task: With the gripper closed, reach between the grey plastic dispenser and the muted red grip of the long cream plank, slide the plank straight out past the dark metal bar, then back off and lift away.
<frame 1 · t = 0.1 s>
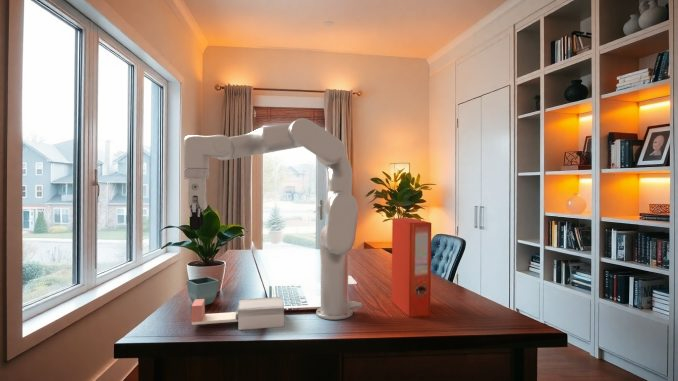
hand: (196, 227, 126), 31 cm above the table, tool pointing down, fingers open, 9 cm apart
long cream plank: (235, 308, 127), point 5 cm above the table, slide at 0.0 cm
file binder: (410, 309, 142), on the table
flower pot: (202, 304, 148), on the table
dispenser: (261, 321, 129), on the table
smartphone: (346, 281, 184), on the table
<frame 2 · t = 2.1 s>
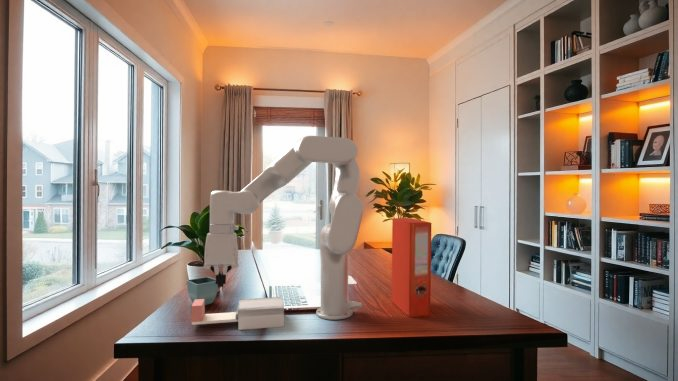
hand: (220, 286, 126), 12 cm above the table, tool pointing down, fingers closed
nothing on the table moved.
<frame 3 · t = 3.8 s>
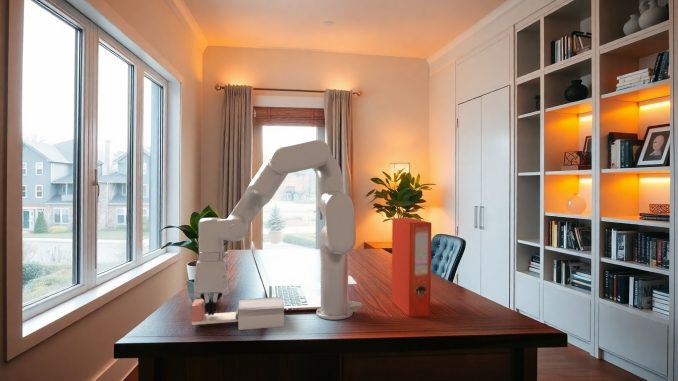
hand: (211, 313, 126), 4 cm above the table, tool pointing down, fingers closed
long cream plank: (235, 308, 127), point 5 cm above the table, slide at 0.0 cm, touching gripper
everything else where it was.
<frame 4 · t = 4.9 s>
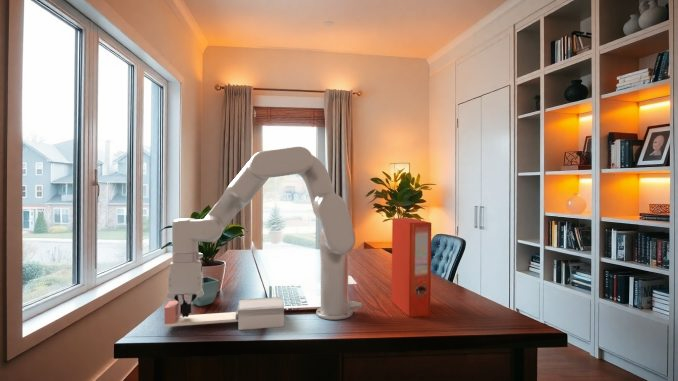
hand: (185, 315, 124), 4 cm above the table, tool pointing down, fingers closed
long cream plank: (210, 310, 126), point 5 cm above the table, slide at 7.8 cm, touching gripper
everything else where it was.
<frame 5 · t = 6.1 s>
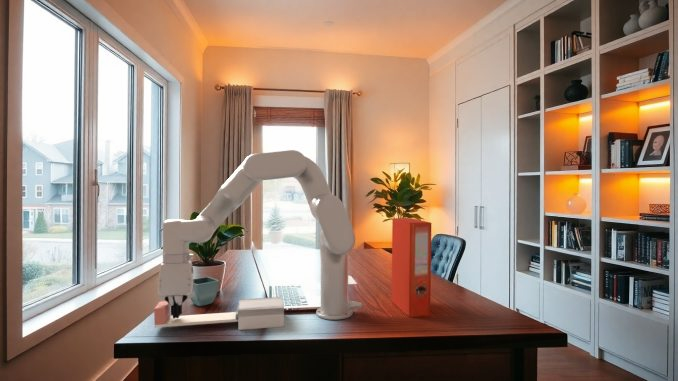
hand: (176, 316, 124), 4 cm above the table, tool pointing down, fingers closed
long cream plank: (201, 311, 125), point 5 cm above the table, slide at 10.6 cm, touching gripper
everything else where it was.
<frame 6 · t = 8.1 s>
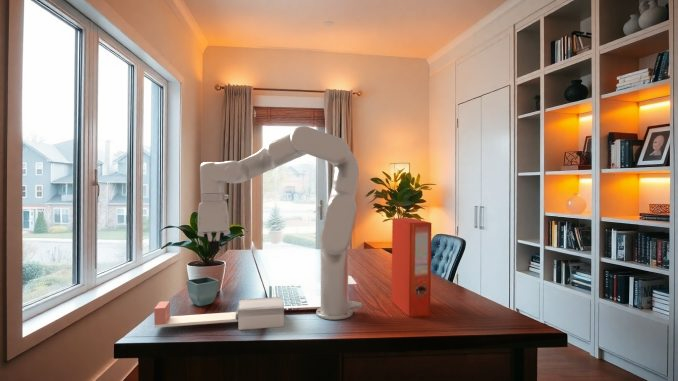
hand: (214, 252, 134), 22 cm above the table, tool pointing down, fingers closed
long cream plank: (201, 311, 125), point 5 cm above the table, slide at 10.6 cm
everything else where it was.
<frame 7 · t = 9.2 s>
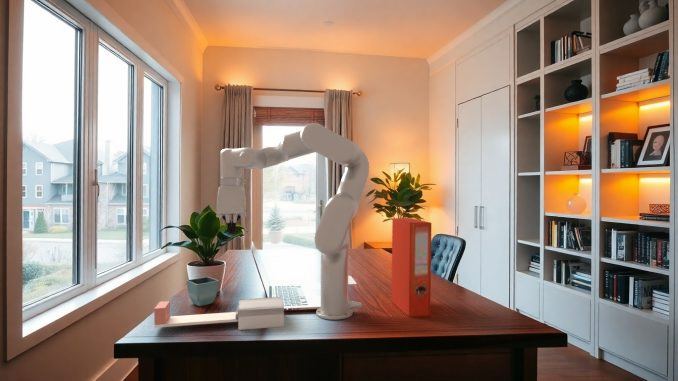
hand: (231, 233, 143), 27 cm above the table, tool pointing down, fingers closed
nothing on the table moved.
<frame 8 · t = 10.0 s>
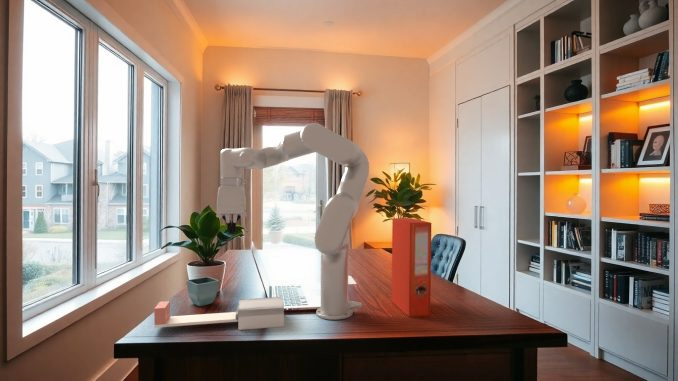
hand: (231, 233, 143), 27 cm above the table, tool pointing down, fingers closed
nothing on the table moved.
at the end: long cream plank slide at 10.6 cm; the gripper is holding nothing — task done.
